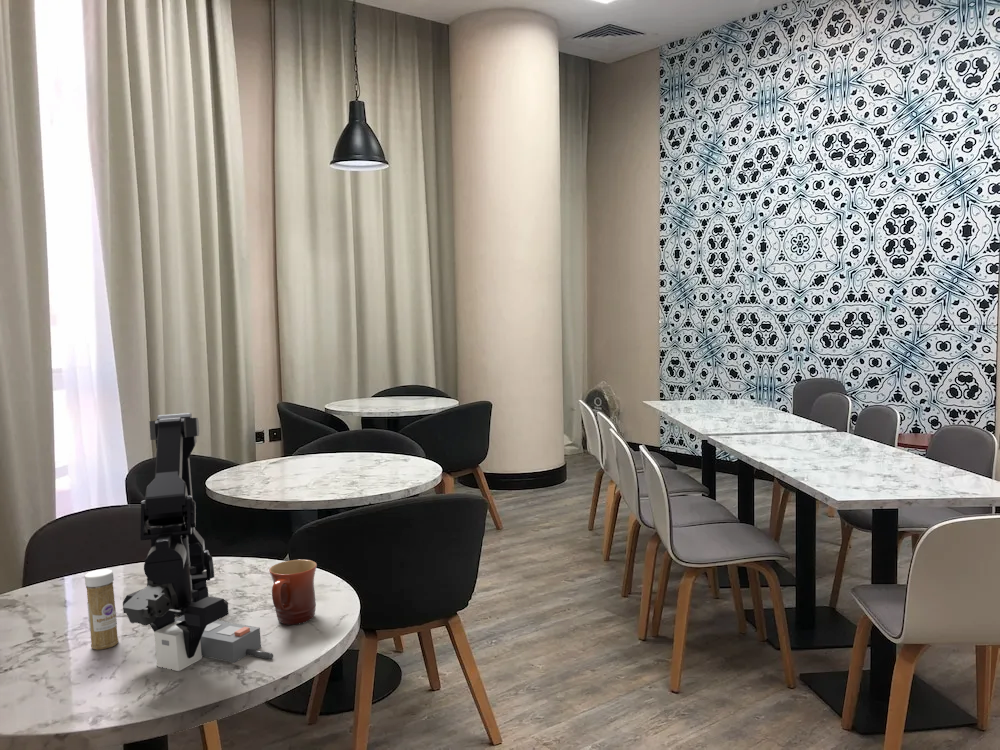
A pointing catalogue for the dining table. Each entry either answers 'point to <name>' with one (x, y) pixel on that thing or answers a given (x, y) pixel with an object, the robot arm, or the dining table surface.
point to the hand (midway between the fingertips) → (179, 654)
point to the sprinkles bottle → (101, 609)
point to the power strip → (230, 641)
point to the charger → (173, 648)
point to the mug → (294, 591)
